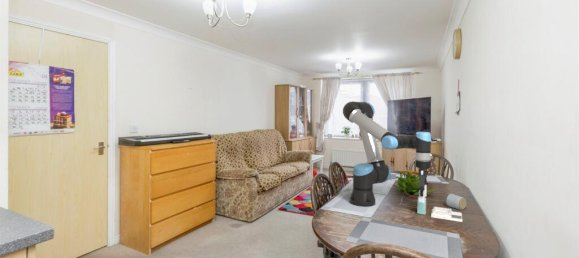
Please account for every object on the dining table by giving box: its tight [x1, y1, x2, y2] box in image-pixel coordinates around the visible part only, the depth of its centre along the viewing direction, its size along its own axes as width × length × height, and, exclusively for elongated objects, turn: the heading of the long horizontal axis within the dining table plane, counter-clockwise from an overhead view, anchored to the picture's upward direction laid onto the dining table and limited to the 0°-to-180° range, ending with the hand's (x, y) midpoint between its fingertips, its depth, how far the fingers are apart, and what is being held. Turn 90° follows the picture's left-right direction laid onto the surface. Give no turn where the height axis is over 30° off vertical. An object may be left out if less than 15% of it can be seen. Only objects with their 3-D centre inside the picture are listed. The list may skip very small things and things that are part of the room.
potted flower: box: [392, 169, 436, 199], centre depth 192 cm, size 25×24×18 cm
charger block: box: [416, 197, 427, 215], centre depth 159 cm, size 4×4×9 cm
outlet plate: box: [430, 206, 463, 223], centre depth 155 cm, size 14×12×3 cm
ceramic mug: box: [445, 193, 467, 211], centre depth 169 cm, size 11×8×8 cm
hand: (422, 199), depth 159 cm, fingers open, 13 cm apart
